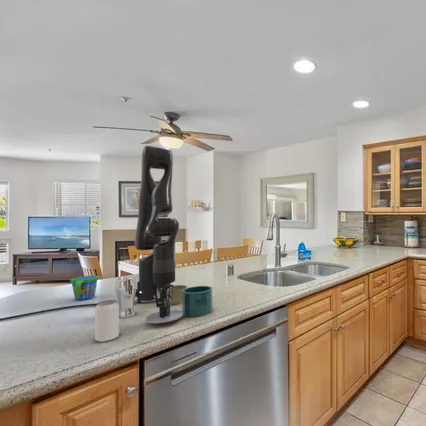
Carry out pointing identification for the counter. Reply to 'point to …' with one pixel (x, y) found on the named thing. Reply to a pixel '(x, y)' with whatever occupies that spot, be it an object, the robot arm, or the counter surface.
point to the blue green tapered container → (84, 287)
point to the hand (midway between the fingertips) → (164, 314)
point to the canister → (197, 301)
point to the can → (106, 320)
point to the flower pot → (177, 294)
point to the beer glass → (126, 296)
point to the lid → (169, 316)
